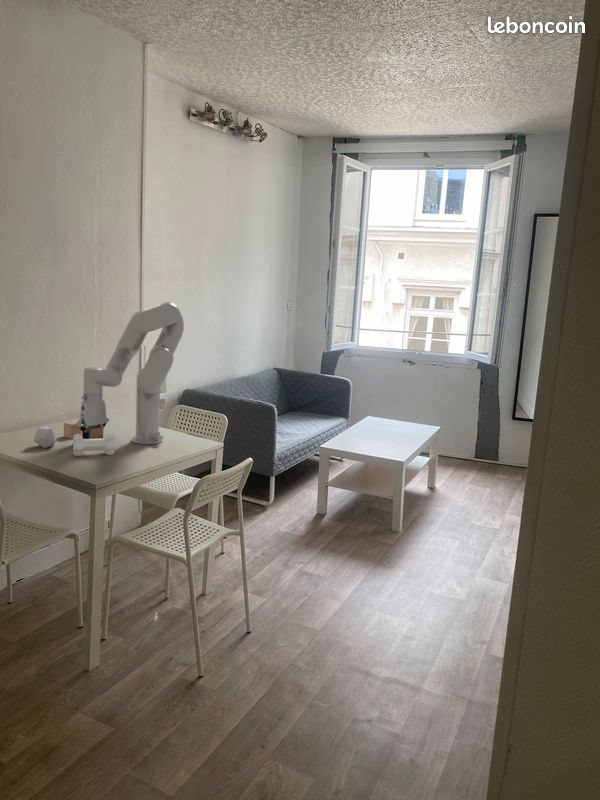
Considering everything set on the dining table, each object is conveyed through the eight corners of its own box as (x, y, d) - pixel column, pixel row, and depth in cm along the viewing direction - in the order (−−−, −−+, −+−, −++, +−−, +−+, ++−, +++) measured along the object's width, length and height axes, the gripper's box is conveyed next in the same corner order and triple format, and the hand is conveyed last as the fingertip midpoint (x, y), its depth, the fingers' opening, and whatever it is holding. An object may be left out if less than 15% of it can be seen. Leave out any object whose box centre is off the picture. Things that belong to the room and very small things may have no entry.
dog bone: (112, 451, 249) (112, 431, 247) (115, 457, 241) (115, 436, 240) (72, 452, 243) (72, 432, 242) (73, 458, 235) (73, 437, 234)
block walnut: (103, 441, 262) (103, 427, 261) (90, 443, 257) (91, 429, 256) (94, 438, 265) (94, 424, 264) (81, 440, 260) (82, 426, 259)
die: (60, 449, 247) (63, 427, 251) (43, 442, 240) (46, 420, 244) (44, 454, 250) (47, 431, 254) (27, 447, 243) (31, 424, 247)
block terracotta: (81, 436, 266) (81, 423, 265) (70, 438, 262) (70, 424, 261) (74, 434, 269) (74, 420, 268) (63, 436, 265) (63, 422, 264)
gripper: (80, 401, 248) (80, 445, 252) (116, 396, 262) (115, 438, 266) (69, 398, 253) (68, 441, 256) (104, 393, 267) (104, 434, 270)
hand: (92, 439), depth 261 cm, fingers closed on block walnut, 6 cm apart
